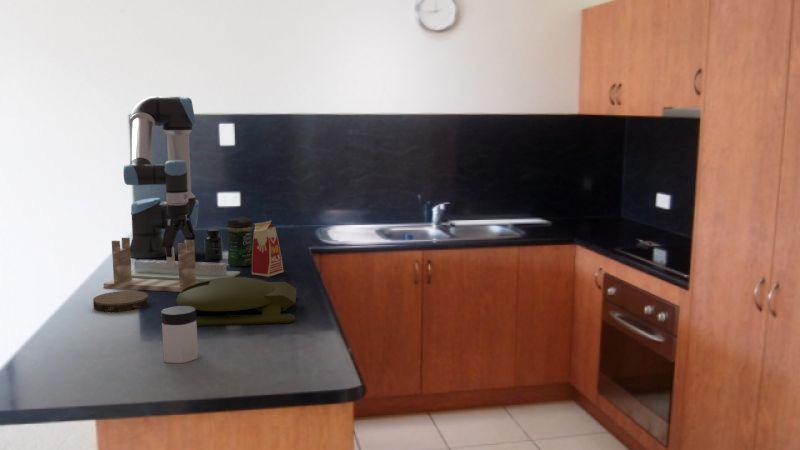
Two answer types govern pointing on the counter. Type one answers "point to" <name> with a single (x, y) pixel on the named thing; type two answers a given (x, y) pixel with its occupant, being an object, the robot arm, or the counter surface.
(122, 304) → the wooden log slice
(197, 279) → the sage mat
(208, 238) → the supplement bottle
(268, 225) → the milk carton
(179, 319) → the jar
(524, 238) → the counter surface
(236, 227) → the coffee jar
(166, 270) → the steel rail
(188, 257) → the rail rack
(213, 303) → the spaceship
